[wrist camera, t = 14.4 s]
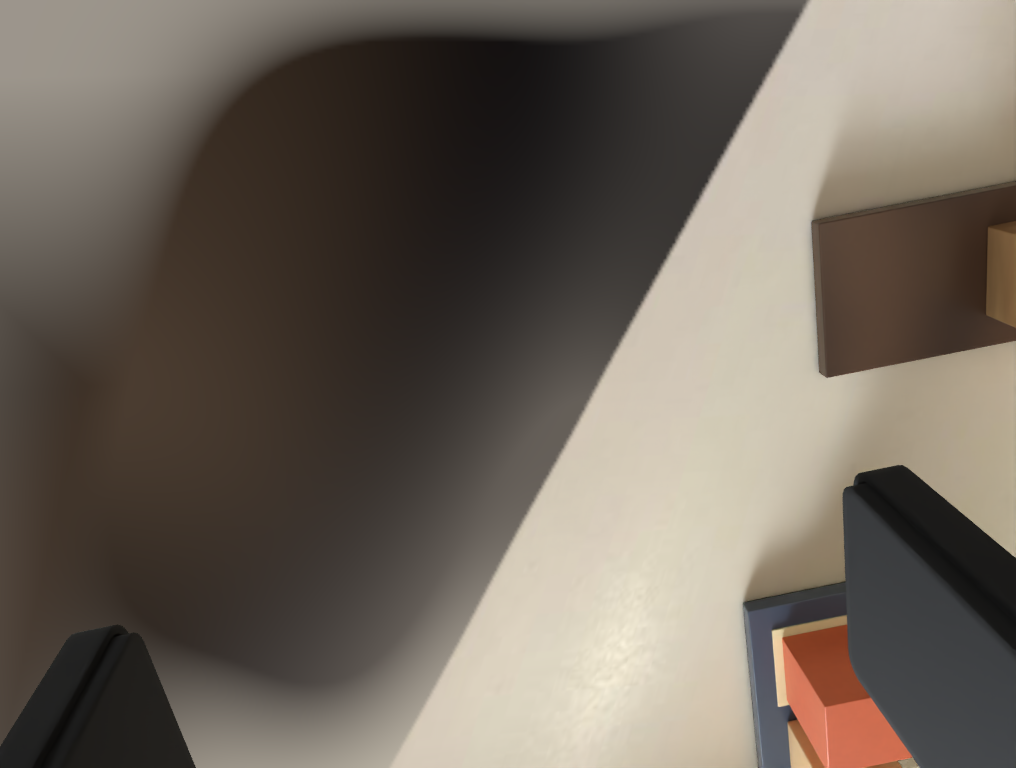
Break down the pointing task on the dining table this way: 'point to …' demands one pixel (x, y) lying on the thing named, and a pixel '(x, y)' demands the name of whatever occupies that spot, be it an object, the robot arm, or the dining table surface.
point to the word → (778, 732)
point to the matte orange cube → (836, 702)
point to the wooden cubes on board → (915, 279)
